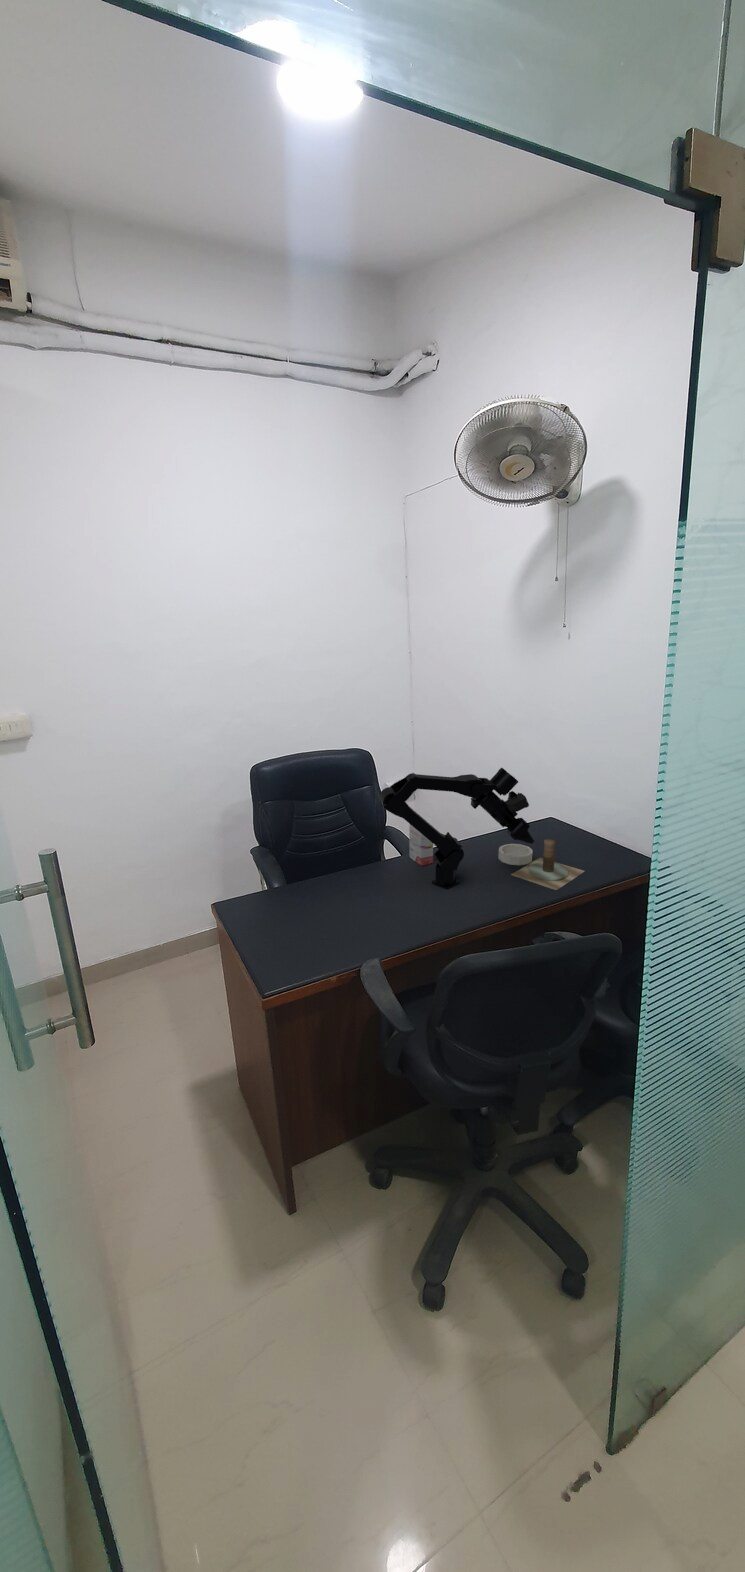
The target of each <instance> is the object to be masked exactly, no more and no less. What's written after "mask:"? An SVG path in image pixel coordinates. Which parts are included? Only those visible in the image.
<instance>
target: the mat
mask: <svg viewBox="0 0 745 1572" xmlns="http://www.w3.org/2000/svg"><path fill="white" fill-rule="evenodd" d="M539 862H543V857H539V858H537V859H535V860H533V861H532V862H530V863H528V864H526V865H525V866H523V867H522V868H520V869H518V870H517V871H515V872H513V873H511V874H510V875H511V876H513V877H516V878H519V879H522V880H525V881H527V882H530V883H534V884H537V885H538V886H539V885H540V886H542V887H545V888H548V889H551V890H555V891H557V890H559V889H560V888H562V887H564V886H565V885H567V884H568V883H570V882H571V881H573V880H574V879H576V878H577V877H579V876H580V875H582V874H583V873H585V871H586V870H583V869H579V868H576V867H573V866H570V865H566V864H563V863H559V862H558V861H557V862H556V861H554V863H556V864H559V865H561V866H563V867H565V868H566V869H567V870H568V876H567V877H566V878H565V879H563V880H560V881H544V880H540V879H537V878H534V877H533V876H531V875H530V874H529V867H530V865H532V864H534V863H539Z"/></svg>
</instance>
